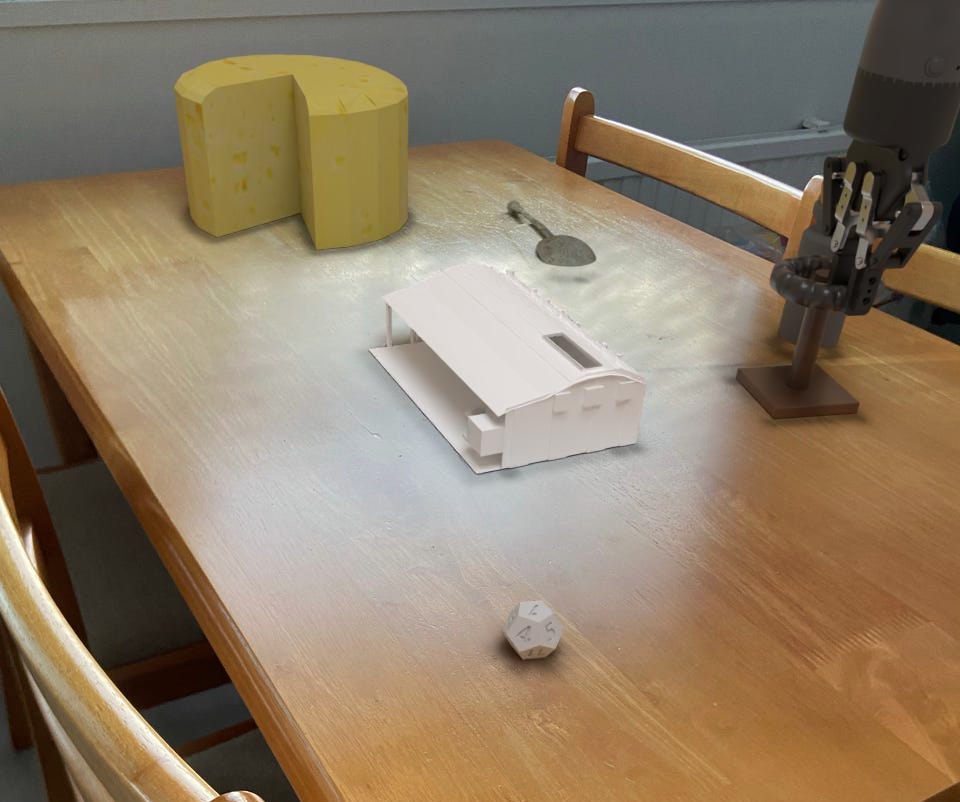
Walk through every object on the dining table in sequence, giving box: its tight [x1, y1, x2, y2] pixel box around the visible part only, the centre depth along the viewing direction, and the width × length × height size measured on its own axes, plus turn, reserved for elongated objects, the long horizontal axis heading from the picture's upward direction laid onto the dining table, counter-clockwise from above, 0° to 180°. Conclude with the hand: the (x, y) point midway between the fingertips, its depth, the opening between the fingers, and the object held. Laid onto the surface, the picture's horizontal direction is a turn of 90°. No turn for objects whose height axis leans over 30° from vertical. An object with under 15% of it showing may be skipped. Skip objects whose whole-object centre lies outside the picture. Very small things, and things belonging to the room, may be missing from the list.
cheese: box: [173, 53, 409, 251], centre depth 118 cm, size 26×26×15 cm
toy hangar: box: [368, 261, 647, 475], centre depth 86 cm, size 25×15×7 cm, turn 25°
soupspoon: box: [506, 199, 597, 268], centre depth 118 cm, size 22×3×7 cm
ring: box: [769, 255, 886, 311], centre depth 84 cm, size 9×9×2 cm
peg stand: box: [735, 269, 860, 419], centre depth 87 cm, size 8×8×11 cm
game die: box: [501, 599, 564, 661], centre depth 61 cm, size 4×4×3 cm
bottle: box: [777, 180, 847, 350], centre depth 95 cm, size 6×6×15 cm
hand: (845, 305), depth 82 cm, fingers closed on ring, 2 cm apart
